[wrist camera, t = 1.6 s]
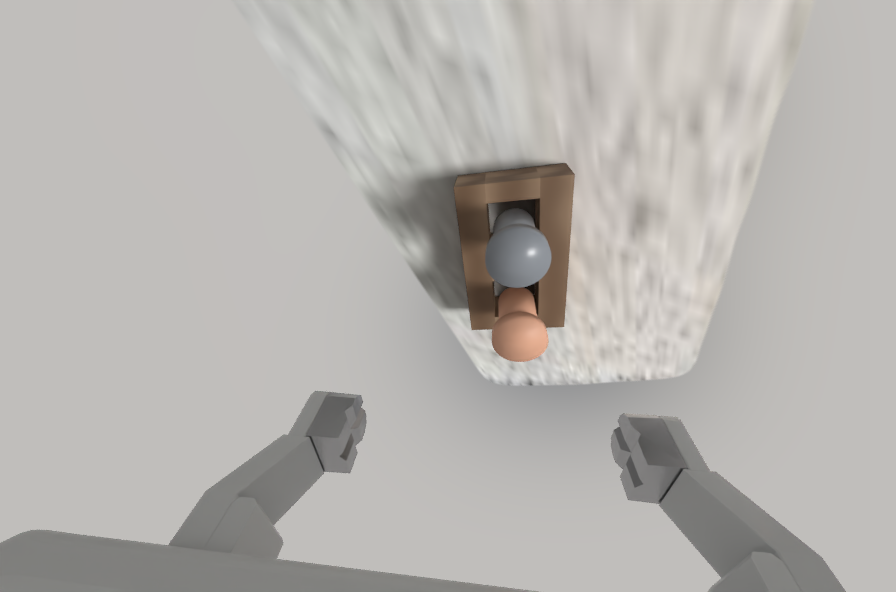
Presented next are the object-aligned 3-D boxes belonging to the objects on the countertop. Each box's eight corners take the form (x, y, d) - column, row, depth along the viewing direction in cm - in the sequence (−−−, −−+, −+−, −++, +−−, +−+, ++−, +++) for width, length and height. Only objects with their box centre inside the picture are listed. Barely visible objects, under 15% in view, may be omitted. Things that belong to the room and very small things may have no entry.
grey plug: (542, 198, 28) (552, 227, 23) (541, 250, 30) (550, 286, 25) (484, 204, 29) (482, 232, 23) (488, 254, 31) (487, 289, 26)
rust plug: (540, 279, 32) (549, 319, 27) (539, 319, 35) (547, 361, 30) (490, 282, 33) (490, 321, 28) (494, 320, 35) (493, 361, 30)
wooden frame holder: (565, 163, 30) (574, 174, 27) (558, 305, 39) (564, 326, 35) (457, 175, 32) (453, 187, 29) (473, 309, 40) (471, 329, 37)
